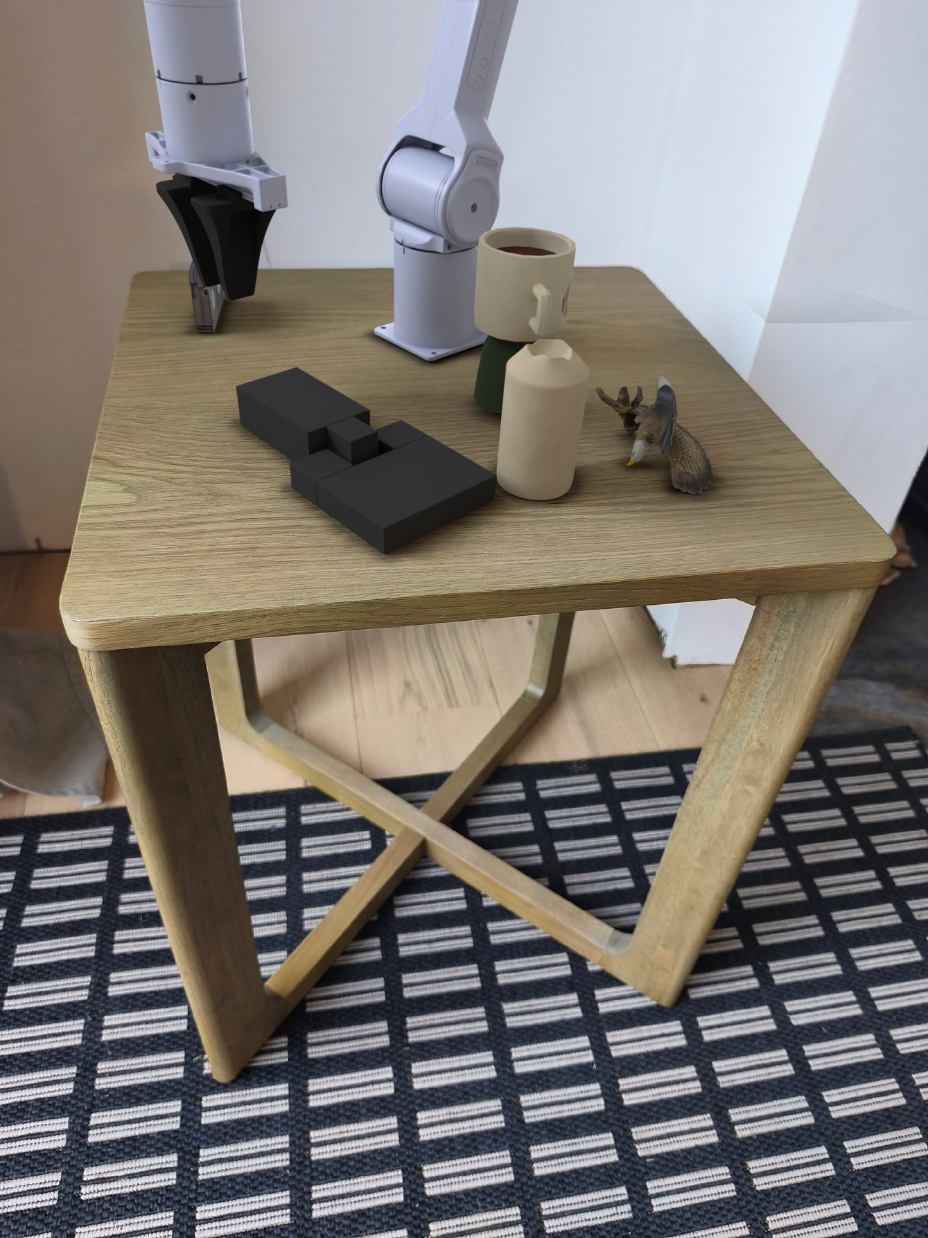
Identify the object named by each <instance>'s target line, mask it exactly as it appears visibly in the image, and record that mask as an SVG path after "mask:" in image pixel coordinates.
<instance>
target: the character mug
mask: <svg viewBox="0 0 928 1238" xmlns="http://www.w3.org/2000/svg"><path fill="white" fill-rule="evenodd" d="M576 250H577V246H576V242H575V241H574V240H573V239H572V238H570V237H569V236H567V235H564V234H562V233H559V232H555V231H552V230H549V229H541V228H537V227H536V228H535V227H527V226H526V227H524V226H522V227H521V226H508V227H499V228H498V227H497V228H494V229H491V230H490V231H487V232H485V233H483V234H482V235H481V236H480V237H479V243H478V258H477V273H476V289H475V304H474V317H475V326H476V327H477V328H478V329H479V330H481V331H482V332H483V333H485V334H488V336H487V338H486V340H485V342H484V343H483V344H482V349H481V354H480V359H479V362H478V368H477V371H476V377H475V378H476V379H475V384H474V390H473V396H472V398H473V401H474V402H475V404H476V406H477V407H479V408H481V409H484V410H486V411H488V412H492V413H498V414H502V407H503V396H504V386H505V375H506V365H507V362H508V360H509V359H510V358H512V357H513V356H514V355H515V354H516V353H518V352H519V351H520V350H521V349H523V348H524V347H525V346H526V345H527V344H534V343H535V342H536V341H538V340H540V339H552V338H553V337H555V336H558V335H559V334H560V332H561V331H562V330H564V328H565V326H566V324H567V322H568V317H569V316H568V314H569V313H568V303H569V301H568V300H569V293H570V292H569V290H570V287H571V285H572V284H571V283H572V281H573V278H574V267H575V259H576V252H577V251H576Z"/></svg>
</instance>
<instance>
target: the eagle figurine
mask: <svg viewBox="0 0 928 1238" xmlns="http://www.w3.org/2000/svg"><path fill="white" fill-rule="evenodd" d="M656 385H657V386H656V398H655V401H654V403H651V404H650V405H646V404H641V402H642V401H643V400H644V395H643V388H642V387H641V386H640V384H638V385H637V387H636V389H637V390H636V395H635V396H634V398H633V399H632V400H631V399H630V393H629V388H628V386H627V385H625V386H621V387H620V388H619V390H618V392H617V399H614V398H612V397H611V396H609V395H608V394H607V393H606V392H605V391H604V390H603V389H602V387H600V386H596V387H595V391H596V394H597V397H598V398H599V400H601V402H603V403H604V404H605V405H606V406H608V407H611V408H612V409H613V410H614V412H615V413H617V414H618V417H620V419H621V421H622V424H623V429H624V432H625V433H626V437H628V438H632V437H633V435H634V434H635V440H634V443H633V448H632V452H631V454H630V459H629V461H628V462H627V463H626V466H627V467H631V466H633V465H634V464H635V463H638V462H641V460H643V458H644V456H645V454H646V453H647V451H648V449H649V448H650V447H651V445H654V444H655V445H658V446H659V452H660V454H661V455H662V456H665V455H666V456H667V459H668V461H669V464H670V476H671V483H672V487H673V488H674V489H679V490H680V491H681V492H682V493H686V492H688V493H689V494H691V495H695V494H702V493H703V490H706V489H708V484H710V483H711V479H712V478H713V471H712V465H711V463H710V462H711V461H710V459H709V457H708V456H707V453H706V451H705V449H704V448H703V447H702V445H701V444H700V442H699V441H698V439H696V437H695V436H693V435H692V434H691V433H690V431H688V429H686V428H685V427H684V426H682V425H681V424H680V423H679V422H678V406H677V397H676V393H675V392H674V391H675V390H673V388H672V384H671V382H670V381H669V380H668V379H667V377H664V376H662V375H660V376H658V377H657V384H656ZM630 401H631V402H630ZM637 417H638V418H639V419H640V421H638V422H637V421H635V420H636V418H637ZM635 432H636V433H635Z"/></svg>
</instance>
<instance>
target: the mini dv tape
mask: <svg viewBox="0 0 928 1238" xmlns="http://www.w3.org/2000/svg"><path fill="white" fill-rule="evenodd" d="M188 281H189V287H190V289H189V290H190V294H191V301H192V302H191V303H192V308H193V309H192V310H193V315H194V321H195V329H196V333H215V331H216V328H217V325H218V321H219V317H220V314H221V311H222V308H223V304H224V301H225V295H224V292H223V289H222V286H221V284H219V285H215V286H211V287H206V286H204V285H203V284H202V282H201V280H200V278H199V275H198V273H197V270H196V268H195V265H194V262H193V260H192V259H191V262H190V266H189V270H188Z"/></svg>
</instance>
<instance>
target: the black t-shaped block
mask: <svg viewBox="0 0 928 1238" xmlns="http://www.w3.org/2000/svg"><path fill="white" fill-rule="evenodd" d="M235 391H236V398H237V406H238V415H239V422H240V425H241V426H242V427H244V428H245V429H246V430H248V431H249V432H251V433H252V434H254V435H255V436H256V437H258V438H260V439H261V440H262V441H264V442H266V443H267V444H268V445H269V446H271V447H273V448H274V449H276V450H277V451H278V452H280V453H281V454H283V455H284V456H286V457H287V458H289V459H290V460H291V461H292V462H294V461H296V460H299V459H301V458H304V457H306V456H309V455H312V454H314V453H317V452H319V451H322V450H325V449H329V450H330V451H332V452H333V453H335V454H337V455H338V456H340V457H341V458H343V459H344V460H346V461H347V462H349V463H350V464H352V465H353V466H355V465H358V464H360V463H363V462H365V461H367V460H370V459H372V458H375V457H377V456H378V431H377V430H376V429H375V428H374V427H371V410H370V409H369V408H368V407H366V406H364V405H362V404H361V403H359V402H357V401H356V400H354V399H352V398H351V397H349V396H347V395H345V394H344V393H342V392H340V391H338V390H337V389H335V388H333V387H332V386H330V385H329V384H327V383H325V382H324V381H322V380H319V379H318V378H317V377H315V376H313V375H311V374H310V373H308V372H307V371H305V370H304V369H301V368H300V367H298V366H294V367H291V368H289V369H286V370H283V371H280V372H276V373H273V374H269V375H266V376H264V377H260V378H257V379H254V380H251V381H248V382H244V383H240V384H237V385H236V386H235Z"/></svg>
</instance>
